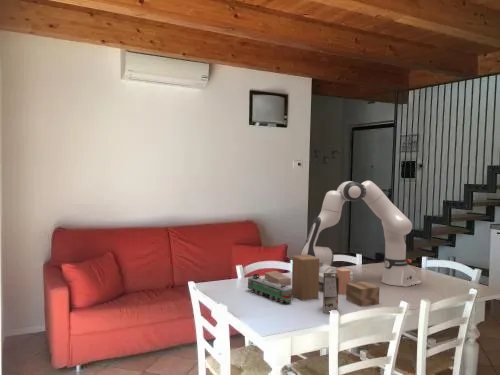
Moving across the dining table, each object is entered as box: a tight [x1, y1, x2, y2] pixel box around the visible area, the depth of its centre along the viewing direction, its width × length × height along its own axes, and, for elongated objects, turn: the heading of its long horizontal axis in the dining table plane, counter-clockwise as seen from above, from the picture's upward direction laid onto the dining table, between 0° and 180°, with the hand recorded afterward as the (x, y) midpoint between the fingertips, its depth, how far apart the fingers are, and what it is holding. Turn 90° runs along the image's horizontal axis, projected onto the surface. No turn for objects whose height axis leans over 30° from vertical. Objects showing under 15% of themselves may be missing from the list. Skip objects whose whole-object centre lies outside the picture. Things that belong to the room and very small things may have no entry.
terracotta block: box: [336, 267, 351, 295], centre depth 223 cm, size 5×5×12 cm
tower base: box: [345, 280, 380, 307], centre depth 208 cm, size 11×11×8 cm
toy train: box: [247, 272, 293, 304], centre depth 214 cm, size 5×31×10 cm, turn 39°
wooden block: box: [291, 254, 320, 301], centre depth 215 cm, size 10×10×20 cm
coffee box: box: [322, 273, 339, 314], centre depth 195 cm, size 9×6×16 cm
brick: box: [264, 270, 292, 287], centre depth 241 cm, size 17×8×5 cm, turn 27°
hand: (343, 280), depth 222 cm, fingers open, 8 cm apart
